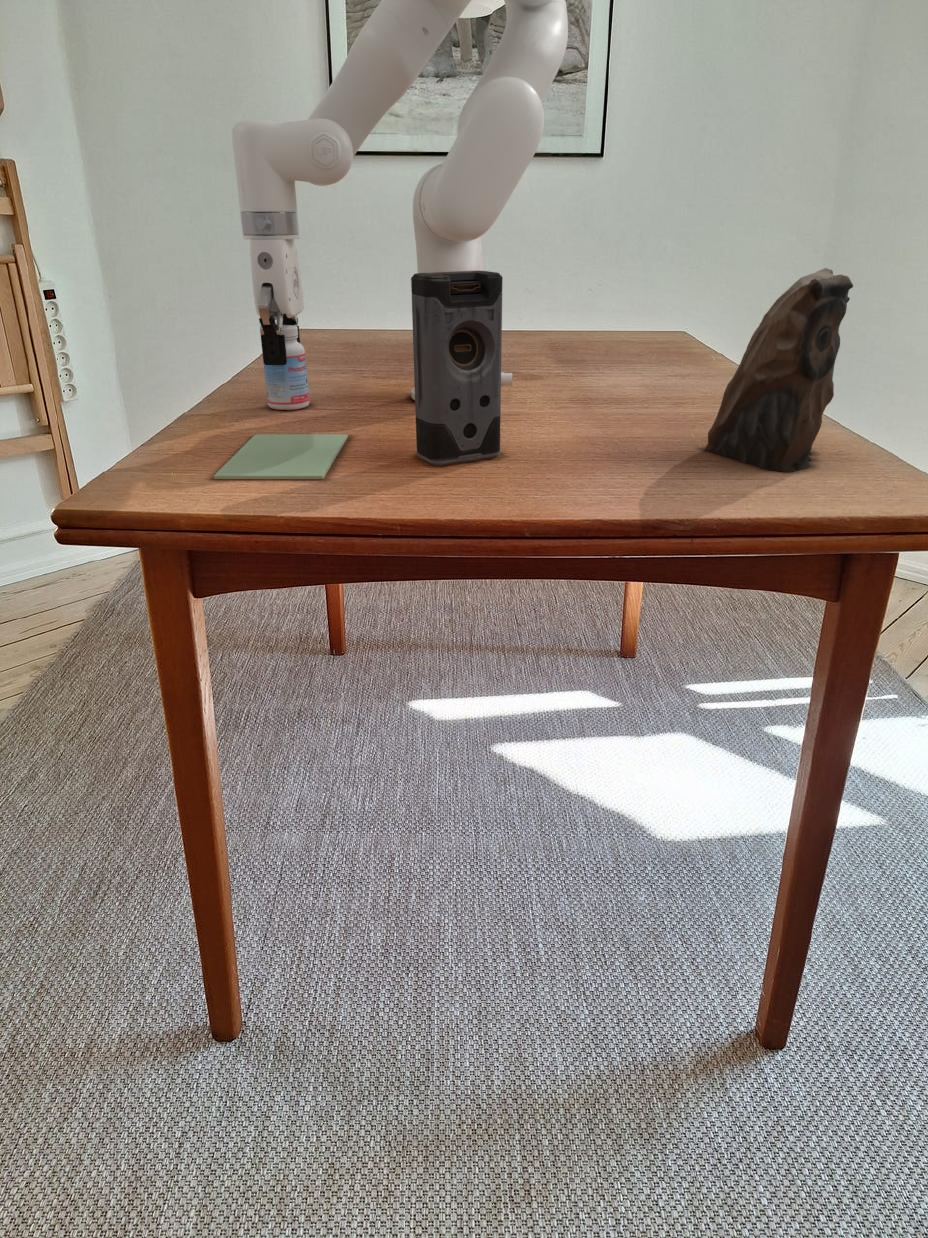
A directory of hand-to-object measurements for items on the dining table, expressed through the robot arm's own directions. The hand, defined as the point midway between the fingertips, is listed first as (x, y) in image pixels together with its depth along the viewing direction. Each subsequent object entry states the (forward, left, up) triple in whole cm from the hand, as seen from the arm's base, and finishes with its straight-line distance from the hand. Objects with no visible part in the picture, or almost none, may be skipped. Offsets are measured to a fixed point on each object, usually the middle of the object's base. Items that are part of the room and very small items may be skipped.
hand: (283, 358), depth 117 cm
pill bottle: (0, 0, -7) cm, 7 cm away
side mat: (-6, +27, -7) cm, 28 cm away
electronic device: (-26, +27, -7) cm, 38 cm away
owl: (-62, +26, -7) cm, 68 cm away
